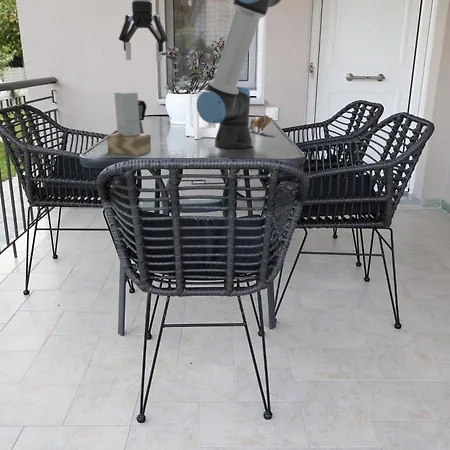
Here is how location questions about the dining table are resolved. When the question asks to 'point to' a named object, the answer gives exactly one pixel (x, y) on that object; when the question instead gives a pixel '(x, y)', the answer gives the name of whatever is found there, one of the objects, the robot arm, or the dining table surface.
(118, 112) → the skincare box
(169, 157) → the dining table surface
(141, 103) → the coffeepot
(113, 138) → the oak block
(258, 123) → the lion figurine
